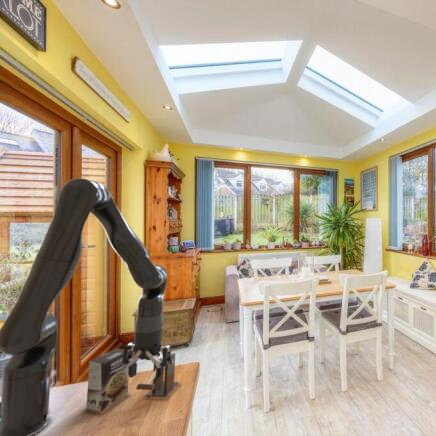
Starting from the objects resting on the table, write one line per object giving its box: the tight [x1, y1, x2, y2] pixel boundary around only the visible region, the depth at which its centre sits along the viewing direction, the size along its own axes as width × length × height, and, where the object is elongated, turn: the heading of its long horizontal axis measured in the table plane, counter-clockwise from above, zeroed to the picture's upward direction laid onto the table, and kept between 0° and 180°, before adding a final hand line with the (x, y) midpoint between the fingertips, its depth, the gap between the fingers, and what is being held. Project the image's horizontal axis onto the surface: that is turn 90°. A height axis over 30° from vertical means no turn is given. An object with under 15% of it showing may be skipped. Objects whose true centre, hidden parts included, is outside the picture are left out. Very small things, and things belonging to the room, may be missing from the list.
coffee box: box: [86, 348, 130, 413], centre depth 87 cm, size 9×6×16 cm
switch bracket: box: [145, 352, 180, 398], centre depth 94 cm, size 8×7×13 cm
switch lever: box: [135, 370, 156, 391], centre depth 89 cm, size 12×5×2 cm, turn 179°
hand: (145, 377), depth 84 cm, fingers open, 8 cm apart
